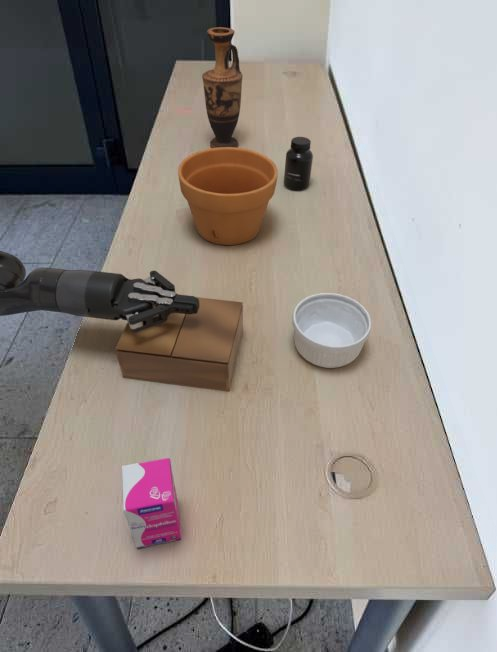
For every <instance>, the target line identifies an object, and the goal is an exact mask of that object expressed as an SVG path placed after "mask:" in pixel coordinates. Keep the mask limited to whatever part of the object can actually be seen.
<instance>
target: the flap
mask: <svg viewBox="0 0 497 652" xmlns="http://www.w3.org/2000/svg"><path fill="white" fill-rule="evenodd" d="M163 298H164V297H163ZM185 315H186V314H180V313H174V314H172V315H169V316H168V317H167V321H166V322H163V323H160V324H158V325H155V326H152V327H149V328H146V329H144V330H141V331H138V332H135V333H133V332H131V329H130V326H129V323H128V322H127V324H126V325H125V328H124V330H123V331H122V334H121V335H120V338H119V340H118V342H117V344H116V346H115V350H126V351H134V352H142V353H151V354H159V355H167V356H171V354H172V351H173V348H174V345H175V342H176V340H177V337H178V334H179V331H180V329H181V326H182V323H183V320H184V318H185ZM155 317H158V316H153V317H152V318H155Z"/></svg>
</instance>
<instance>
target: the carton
mask: <svg viewBox="0 0 497 652" xmlns="http://www.w3.org/2000/svg"><path fill="white" fill-rule="evenodd" d="M195 297H196V298H198V299H199V305H200V306H199V309H198V312H197V314H190V315H189V314H186V315H185V318H184V320H183V323H182V326H181V329H180V331H179V334H178V337H177V340H176V342H175V345H174V348H173V351H172V354H171V356H167V355H159V354H151V353H142V352H134V351H126V350H117V349H115V353H116V354H115V355H116V358H117V362H118V365H119V369H120V372H121V375H122V376H121V377H122V378H123V379H132V380H138V381H139V380H140V381H147V382H155V383H162V384H167V385H169V384H170V385H177V386H184V387H193V388H200V389H208V390H214V391H222V392H230V391H231V390H230V389H231V384H232V380H233V376H234V372H235V367H236V364H237V358H238V355H239V350H240V345H241V342H242V338H243V337H242V336H243V333H244V304H243V301H234V300H226V299H218V298H207V297H200V296H199V297H198V296H195Z"/></svg>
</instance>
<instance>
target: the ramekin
mask: <svg viewBox="0 0 497 652" xmlns="http://www.w3.org/2000/svg"><path fill="white" fill-rule="evenodd" d="M291 322H292V327H293V340H294V345H295V348H296V350H297V352H298V353H299V354H300V355H301V356H302V358H304V359H305V360H306V361H307V362H308V363H310V364H312V365H315V366H317V367H320V368H326V369H334V368H335V369H336V368H340V367H344V366H347V365H349V364H350V363H352V362H353V361H355V359H356V358H358V356H359V355H360V354H361V351H362V349H363V347H364V345H365V342H366V341H367V340H368V339H369V336H370V333H371V329H372V319H371V316H370V314H369V312H368V311H367V309H366V308H365V307H364V306H363V304H361V303H360V302H358V301H357V300H355V299H354V298H351V297H349V296H347V295H345V294H340V293H335V292H334V293H333V292H321V293H320V292H319V293H314V294H312V295H309V296H307V297H304V298H303V299H302V300H300V301H299V302H298V303H297V305H296V306H295V308H294V309H293V313H292V318H291Z"/></svg>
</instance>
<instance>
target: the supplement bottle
mask: <svg viewBox="0 0 497 652" xmlns="http://www.w3.org/2000/svg"><path fill="white" fill-rule="evenodd" d="M311 143H312V142H311V139H309V138H308V137H305V136H294V137H293V138H291V140H290V148H288V150H287V151H286V153H285V163H284V174H283V185H284V187H285V188H287V189H288V190H291V191H296V192H301V191H304V190H306V189H308V188H309V187H310V182H311V175H312V168H313V159H314V154H313V152H312V150H311Z"/></svg>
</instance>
